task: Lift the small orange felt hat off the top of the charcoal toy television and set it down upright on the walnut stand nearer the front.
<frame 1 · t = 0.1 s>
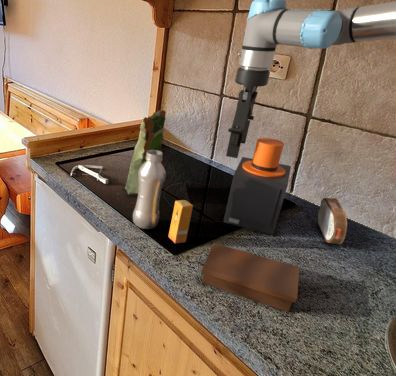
hand: (236, 149, 109), 17 cm above the worktop, tool pointing down, fingers open, 13 cm apart
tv: (251, 217, 109), on the worktop
hat: (263, 169, 103), point 14 cm above the worktop, touching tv
tin: (325, 235, 102), on the worktop
stand: (247, 283, 84), on the worktop
pouch: (142, 194, 121), on the worktop
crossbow: (91, 176, 132), on the worktop
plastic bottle: (144, 226, 104), on the worktop
supplement box: (177, 240, 98), on the worktop
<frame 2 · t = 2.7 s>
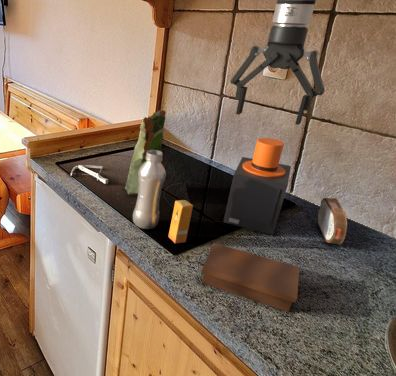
hand: (267, 118, 100), 27 cm above the worktop, tool pointing down, fingers open, 13 cm apart
nothing on the worktop moved.
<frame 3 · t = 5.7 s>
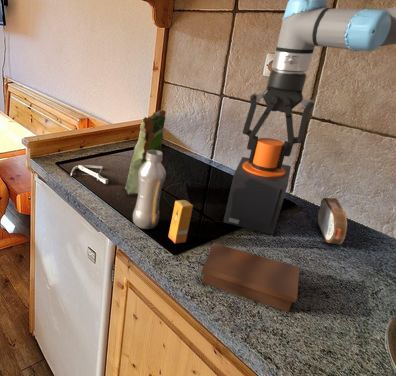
hand: (264, 164, 103), 15 cm above the worktop, tool pointing down, fingers closed on hat, 6 cm apart
hat: (263, 169, 103), point 14 cm above the worktop, touching gripper, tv
everything else where it was.
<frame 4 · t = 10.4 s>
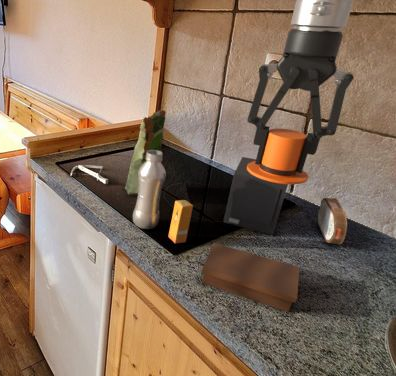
hand: (278, 165, 73), 26 cm above the worktop, tool pointing down, fingers closed on hat, 6 cm apart
hat: (276, 173, 74), point 25 cm above the worktop, touching gripper
everything else where it was.
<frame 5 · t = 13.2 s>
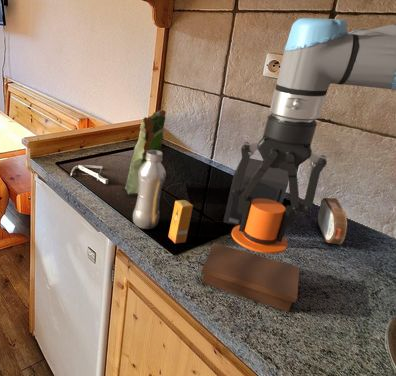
hand: (260, 233, 78), 12 cm above the worktop, tool pointing down, fingers closed on hat, 6 cm apart
hat: (258, 239, 79), point 11 cm above the worktop, touching gripper
everything else where it was.
when the fingers open (5 cm above the worktop, at t = 15.2 s): hat stays where it is, resting on stand.
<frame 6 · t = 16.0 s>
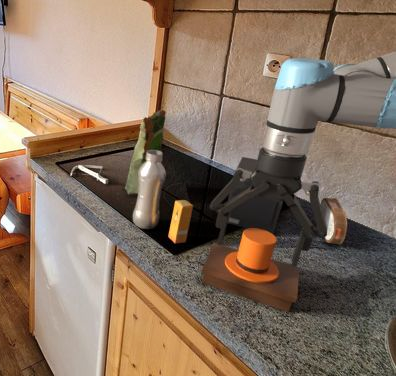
hand: (255, 251, 80), 8 cm above the worktop, tool pointing down, fingers open, 13 cm apart
hat: (251, 267, 82), point 4 cm above the worktop, touching stand
everything else where it was.
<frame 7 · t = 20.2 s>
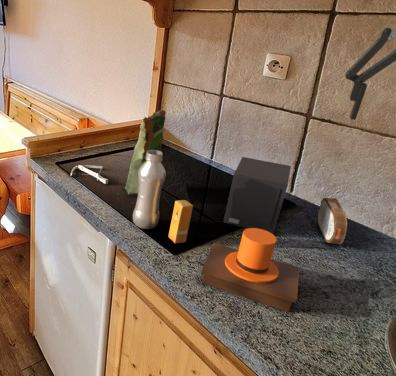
hand: (395, 124, 75), 33 cm above the worktop, tool pointing down, fingers open, 13 cm apart
nothing on the worktop moved.
at the end: hat inside the target area on the stand (0.1 cm from its centre), point 4.0 cm above the stand's base; hat tilted 0°; hat touching stand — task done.
